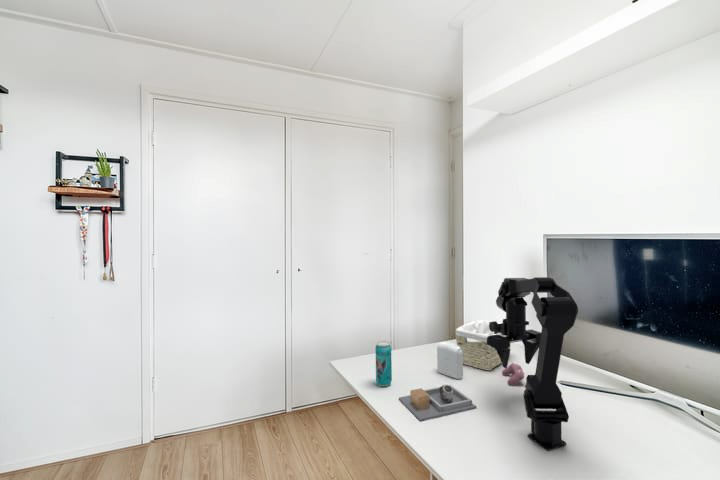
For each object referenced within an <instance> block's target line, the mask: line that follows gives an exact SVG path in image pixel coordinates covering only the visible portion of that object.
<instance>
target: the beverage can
mask: <svg viewBox="0 0 720 480" xmlns="http://www.w3.org/2000/svg"><path fill="white" fill-rule="evenodd" d="M375 343H376V344H375V345H376V346H375V381H376V383H377V385H378V386H379V385H380V386H379V387H381V386H388V385H389V386H390V385H391V384H392V381H393V380H392V379H393V377H392V376H393V375H392V374H393V372H392V371H393V370H392V346H391V342H389V341H385V340H382V341H381V340H380V341H377V342H375ZM389 386H388V387H389Z"/></svg>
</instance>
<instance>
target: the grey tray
mask: <svg viewBox="0 0 720 480" xmlns="http://www.w3.org/2000/svg"><path fill="white" fill-rule="evenodd" d="M448 385H449V386H451V388H452V389H453V401H452V403H446V402H445V401H444V400H443V399H442V398H441V395H440V392H439V388H440V387H441V386H437V387H432V388H427V389H423V388H421V387H420V388H415V389H410V395H405V396H400V397H398V401H400V402H401V403H402V404H403V405H404V407H405V408H406V409H408V410H409V412H410V413H412V415H413V416H414V417H415V418H417V420H418V421H420V422H424V421H428V420H431V419H437V418H440V417H444V416H449V415H453V414H458V413H461V412H463V413H464V412H467V411H471V410H475V409H477V405H476V404H474V403H473V399H471V398H470V397H469V396H467V395H465V394H464V393H463V392H461V391H460V390H458V389H457V388H455V387H454V386H453V385H451V384H448ZM444 394H445V393H444ZM445 395H446V394H445ZM446 397H447V395H446ZM447 398H448V397H447Z"/></svg>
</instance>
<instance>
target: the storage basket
mask: <svg viewBox="0 0 720 480" xmlns="http://www.w3.org/2000/svg"><path fill="white" fill-rule="evenodd" d="M489 322H494V320H487V319H477V320H473V321H471V322H469V323H468V322H467V323H465V324H463V325H460V326H459V327H457V328H456V329H455V342H456V345H457V346H459V347H460V348H461V349H462V352H463V365H466V366H469V367H473V368H477V369H481V370H485V371H491V370H493V369H494V368H496V366H499V365H500V364H502V363H501V360H500V357H499V355H498V353H497V351H496V349H495V348H493V347H491V346H490V345H488V344H487V337H488V336H490V335H500V336H503V337H507V336H506V335H502V333H497V334H494V332H491V331H490V329H489ZM496 322H497V323H498V324H501V323H502V322H500V321H496ZM511 347H512V346H511V343H510V346H509V349H510V350H511ZM509 357H510V355H509Z"/></svg>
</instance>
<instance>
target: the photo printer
mask: <svg viewBox="0 0 720 480" xmlns="http://www.w3.org/2000/svg"><path fill="white" fill-rule="evenodd" d="M436 352H437V353H436V357H437V362H436V363H437V372H438V373H439V374H441V375H442V374H443V375H444V376H446V377H451V378H453V379H456V380H461V379H463V377H464V364H463V352H462V349H461V348H460V347H459V346H457V344H456V343H454V342H453V343H452V342H448V341H442V342H438V344H437V347H436Z"/></svg>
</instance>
